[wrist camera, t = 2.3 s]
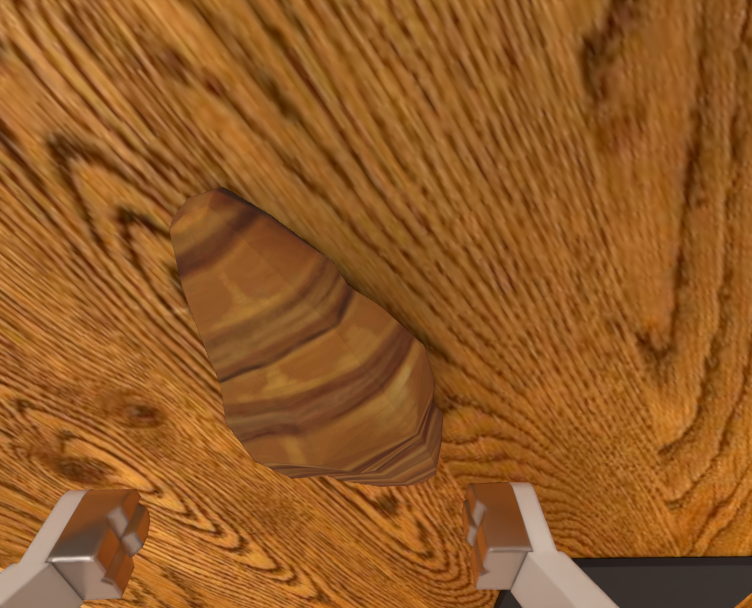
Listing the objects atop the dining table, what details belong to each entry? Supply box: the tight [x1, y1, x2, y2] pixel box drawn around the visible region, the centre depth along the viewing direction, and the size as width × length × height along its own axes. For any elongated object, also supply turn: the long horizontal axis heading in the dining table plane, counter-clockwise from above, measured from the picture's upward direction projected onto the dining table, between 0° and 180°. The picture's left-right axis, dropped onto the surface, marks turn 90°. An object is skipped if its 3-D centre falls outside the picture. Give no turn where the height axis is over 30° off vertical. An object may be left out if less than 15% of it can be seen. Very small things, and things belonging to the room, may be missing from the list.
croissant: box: [169, 187, 443, 487], centre depth 13 cm, size 14×7×5 cm, turn 30°
